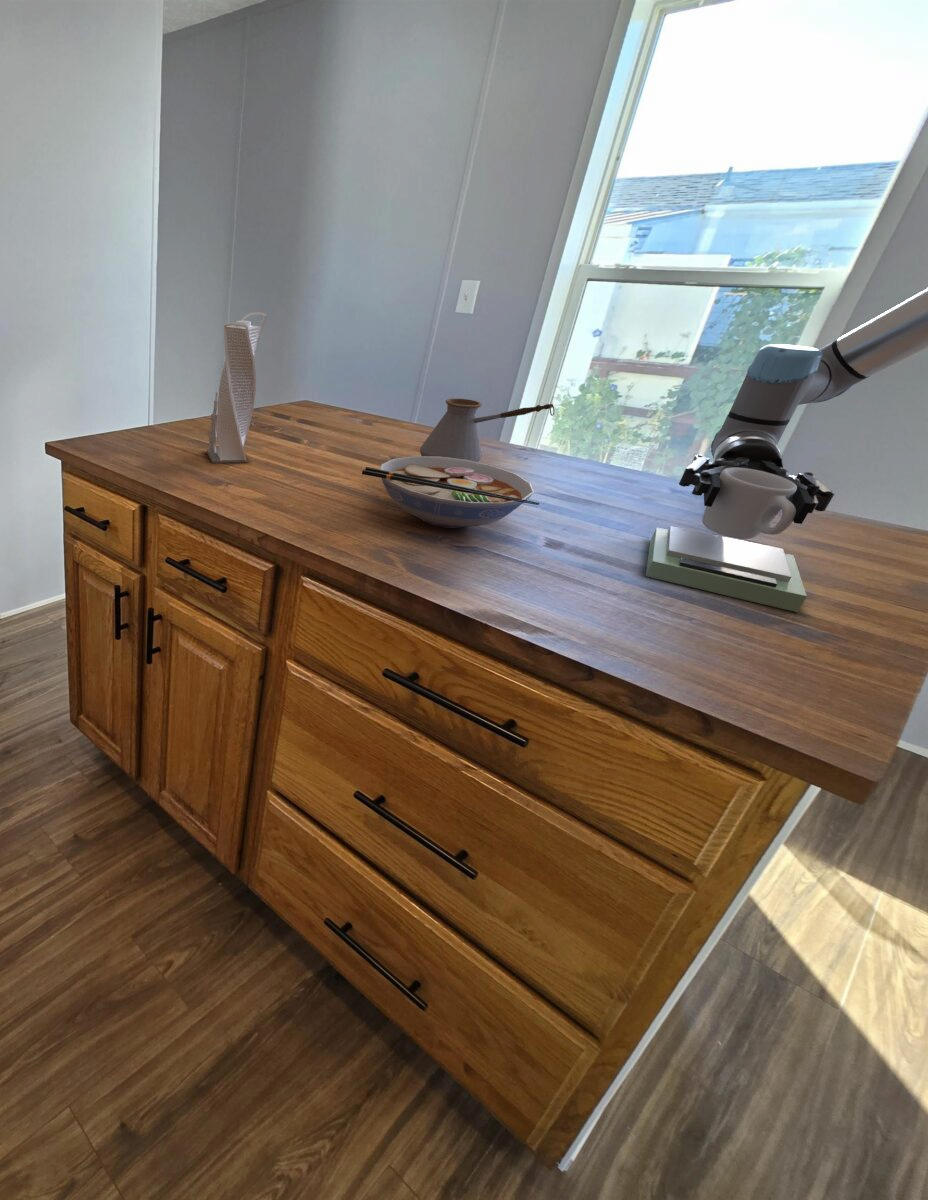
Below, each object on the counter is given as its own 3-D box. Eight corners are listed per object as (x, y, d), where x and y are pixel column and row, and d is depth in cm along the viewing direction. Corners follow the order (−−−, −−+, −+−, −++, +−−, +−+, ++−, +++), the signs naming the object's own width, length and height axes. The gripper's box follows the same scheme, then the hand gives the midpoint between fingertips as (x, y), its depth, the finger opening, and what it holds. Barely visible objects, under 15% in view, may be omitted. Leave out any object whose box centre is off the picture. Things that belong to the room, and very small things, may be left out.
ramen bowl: (534, 515, 111) (550, 468, 107) (518, 564, 94) (536, 511, 90) (384, 485, 122) (393, 442, 118) (346, 524, 106) (355, 476, 102)
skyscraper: (245, 452, 140) (260, 309, 126) (254, 464, 133) (271, 314, 119) (206, 452, 139) (217, 309, 125) (213, 464, 132) (225, 314, 118)
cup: (796, 555, 86) (834, 500, 82) (738, 553, 86) (773, 497, 82) (732, 519, 95) (763, 468, 91) (679, 517, 95) (708, 465, 91)
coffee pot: (407, 465, 133) (425, 390, 125) (430, 454, 140) (448, 381, 133) (520, 492, 120) (547, 410, 113) (538, 478, 127) (565, 399, 120)
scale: (785, 570, 93) (796, 550, 92) (797, 612, 83) (810, 590, 81) (650, 541, 102) (658, 522, 100) (645, 576, 91) (654, 555, 90)
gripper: (825, 501, 97) (852, 553, 81) (652, 471, 108) (646, 512, 92) (854, 451, 93) (888, 496, 77) (672, 425, 104) (668, 460, 88)
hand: (756, 504), depth 85 cm, fingers closed on cup, 8 cm apart
